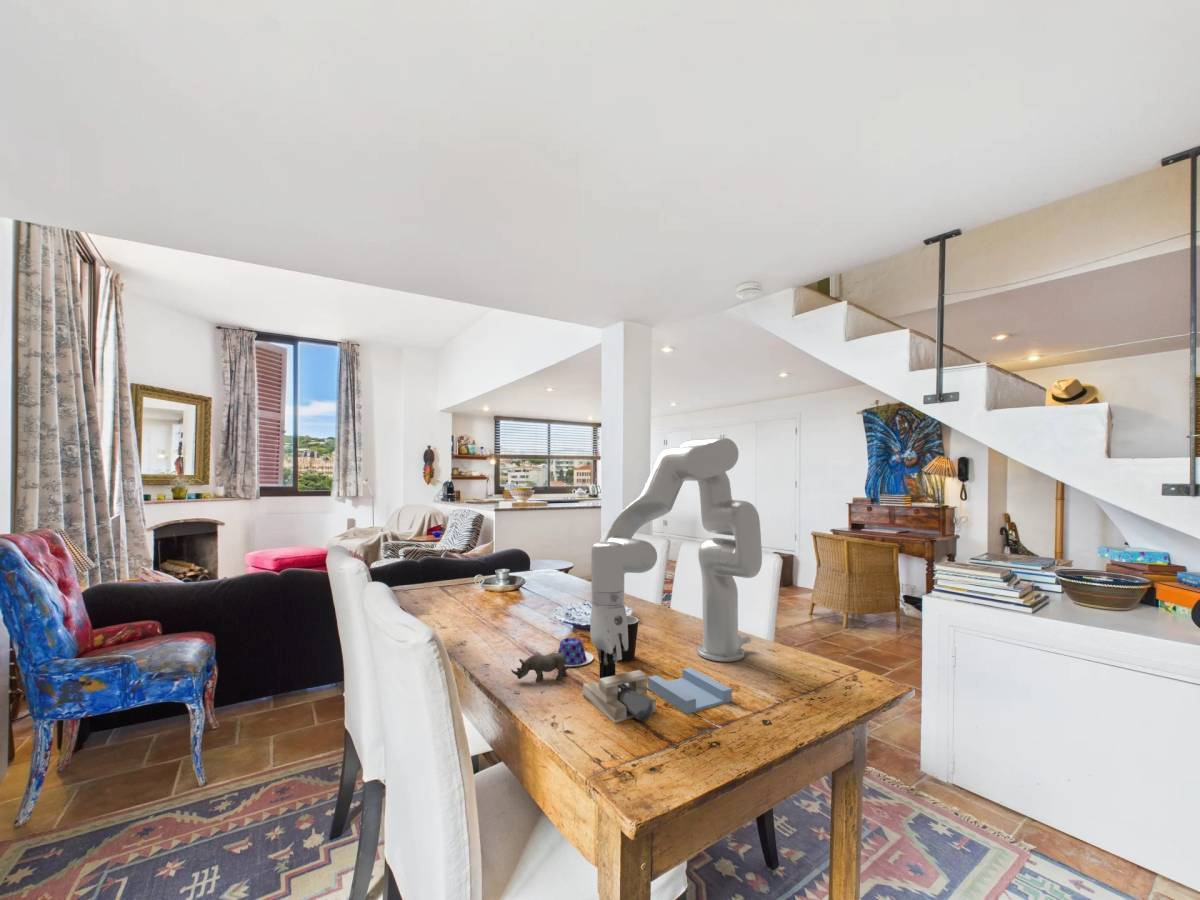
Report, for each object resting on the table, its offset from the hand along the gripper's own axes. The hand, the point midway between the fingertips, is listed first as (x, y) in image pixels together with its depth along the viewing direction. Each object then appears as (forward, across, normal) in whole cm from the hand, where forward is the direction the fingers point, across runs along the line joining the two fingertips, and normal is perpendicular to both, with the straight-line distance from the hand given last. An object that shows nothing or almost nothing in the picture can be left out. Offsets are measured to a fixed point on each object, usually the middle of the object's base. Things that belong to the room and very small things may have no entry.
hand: (607, 680), depth 112 cm
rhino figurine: (+4, +16, +10) cm, 19 cm away
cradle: (+3, -8, -16) cm, 19 cm away
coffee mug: (+3, +20, -16) cm, 26 cm away
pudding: (+4, +24, -2) cm, 24 cm away
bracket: (+3, -4, 0) cm, 6 cm away
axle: (+1, -8, 0) cm, 8 cm away
